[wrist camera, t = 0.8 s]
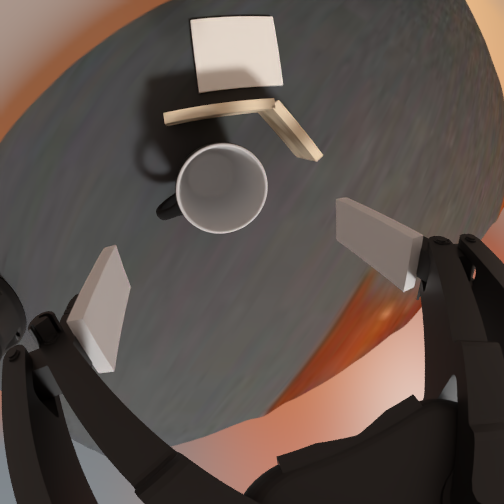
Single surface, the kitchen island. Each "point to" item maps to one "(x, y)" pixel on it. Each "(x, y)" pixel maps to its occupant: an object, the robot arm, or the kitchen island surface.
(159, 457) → the robot arm
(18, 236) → the kitchen island surface
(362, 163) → the kitchen island surface
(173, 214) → the mug
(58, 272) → the kitchen island surface
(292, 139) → the wooden boomerang
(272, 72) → the plate
